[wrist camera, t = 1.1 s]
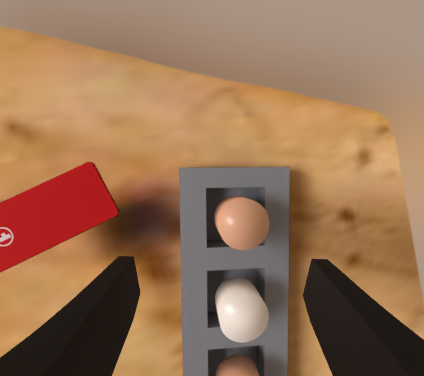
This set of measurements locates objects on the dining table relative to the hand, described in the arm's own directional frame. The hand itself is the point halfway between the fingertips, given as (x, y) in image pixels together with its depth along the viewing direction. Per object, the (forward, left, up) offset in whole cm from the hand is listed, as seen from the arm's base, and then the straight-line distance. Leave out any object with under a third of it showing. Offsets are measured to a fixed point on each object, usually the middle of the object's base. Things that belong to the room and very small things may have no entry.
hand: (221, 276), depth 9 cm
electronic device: (0, +16, -14) cm, 22 cm away
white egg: (-7, -3, -11) cm, 13 cm away
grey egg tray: (-7, -3, -14) cm, 16 cm away
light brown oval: (0, -3, -11) cm, 11 cm away
